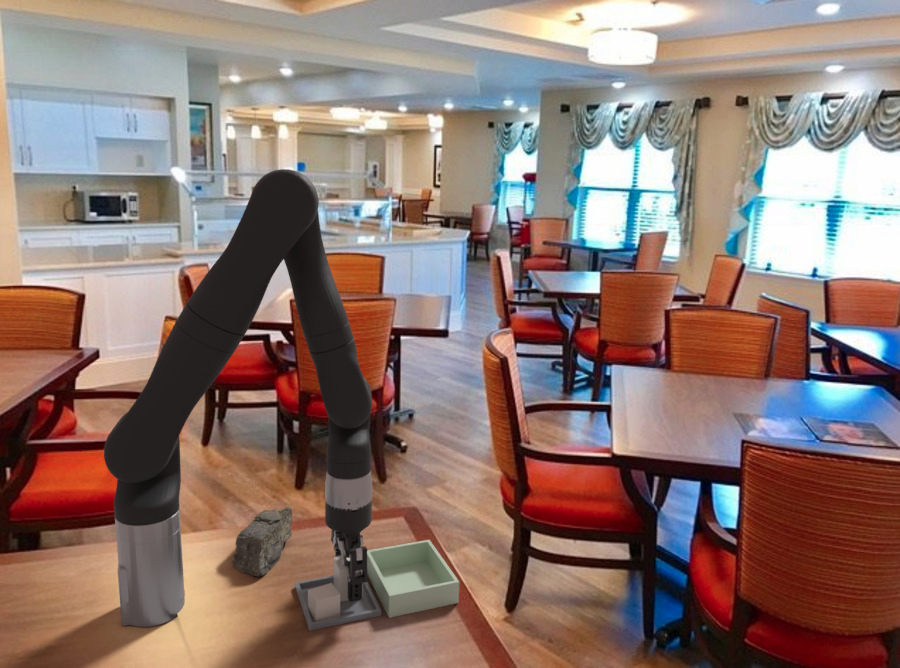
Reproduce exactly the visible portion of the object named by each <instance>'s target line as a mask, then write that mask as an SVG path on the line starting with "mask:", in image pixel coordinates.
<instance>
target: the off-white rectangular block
mask: <svg viewBox="0 0 900 668" xmlns="http://www.w3.org/2000/svg"><path fill="white" fill-rule="evenodd" d="M346 559H347V560H348V561H350V558H346ZM358 572H359V570H358V571H356V572H355V573H358ZM333 575H334V587H335V588H336V589H337V591H338V592H339V593H340V602H343V601H348V580H347V571H346V568H345V567H343V565H342V557H341V556H333ZM362 598H363V583H362Z"/></svg>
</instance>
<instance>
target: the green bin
mask: <svg viewBox="0 0 900 668" xmlns="http://www.w3.org/2000/svg"><path fill="white" fill-rule="evenodd" d="M367 578H368V579H369V581H370V583H371V585H372V587H373V589H374V591H375V593H376V595H377V597H378V599H379V600H380V603H381V605H382V607H383V609H384V611H385V613H386V614H387V617H388V618H389V619H390V618H394V617H401V616H405V615H409V614H413V613H418V612H423V611H426V610H427V611H429V610H432V609H436V608H442V607H445V606H447V607H448V606H451V605H456V604H460V603H459V599H460V598H459V597H460V581H459V579H458V578H457V576H456V575H455V574H454V572H453V571H452V569H451V568H450V567H449V565H448V564H447V562H446V561H445V559H444V558H443V556H442V555H441V554H440V552H439V551H438V550H437V548H436V547H435V545H434V544H433V542H432V541H431V539H425V540H419V541H415V542H409V543H402V544H397V545H392V546H385V547H379V548H375V549H367Z"/></svg>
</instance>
